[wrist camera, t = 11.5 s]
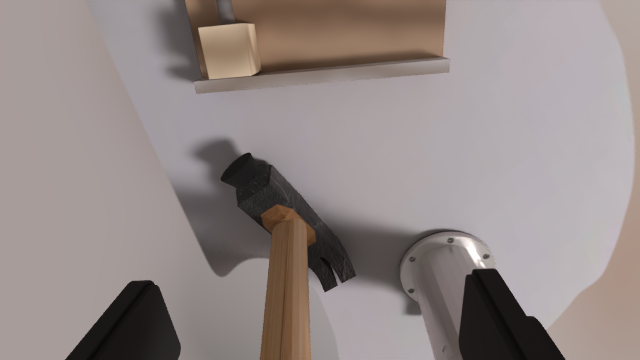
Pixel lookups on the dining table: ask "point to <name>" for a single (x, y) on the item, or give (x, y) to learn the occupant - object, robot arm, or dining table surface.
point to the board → (329, 40)
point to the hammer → (287, 255)
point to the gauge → (230, 46)
